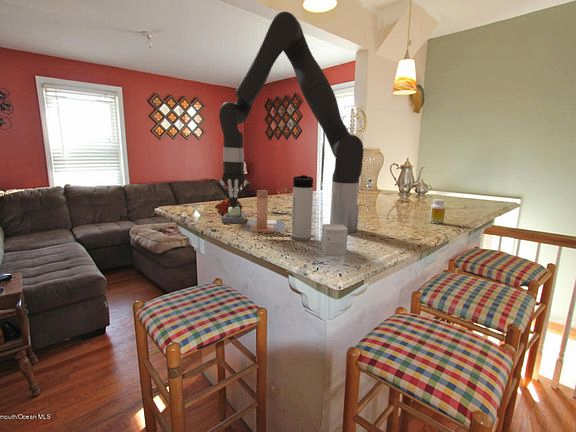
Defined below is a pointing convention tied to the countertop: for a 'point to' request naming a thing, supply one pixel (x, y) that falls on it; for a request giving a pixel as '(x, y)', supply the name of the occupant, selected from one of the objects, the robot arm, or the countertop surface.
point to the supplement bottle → (437, 211)
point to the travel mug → (302, 208)
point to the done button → (234, 212)
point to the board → (271, 226)
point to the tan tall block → (262, 209)
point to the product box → (334, 239)
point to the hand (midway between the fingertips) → (233, 207)
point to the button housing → (233, 219)
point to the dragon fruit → (225, 206)
